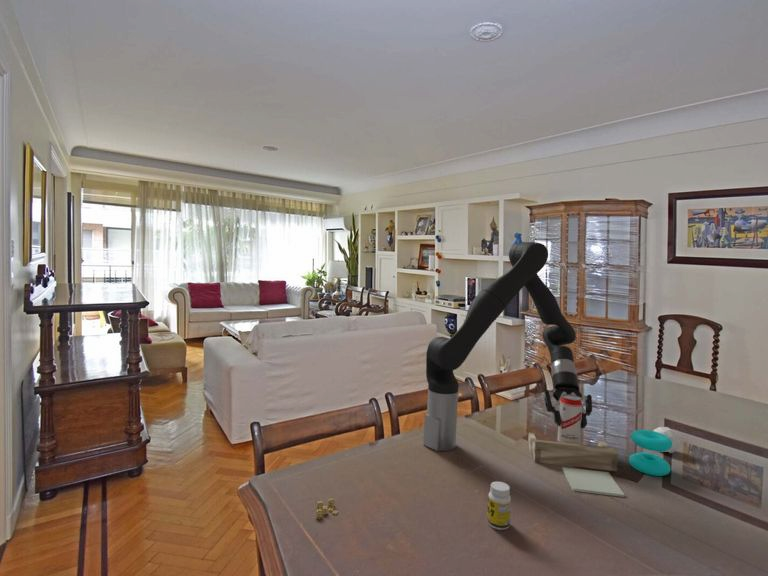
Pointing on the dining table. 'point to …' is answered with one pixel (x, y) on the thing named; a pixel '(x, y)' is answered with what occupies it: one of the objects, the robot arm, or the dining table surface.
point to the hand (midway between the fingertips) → (571, 425)
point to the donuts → (646, 460)
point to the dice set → (325, 508)
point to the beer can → (570, 419)
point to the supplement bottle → (499, 506)
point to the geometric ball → (671, 435)
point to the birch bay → (574, 454)
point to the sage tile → (592, 482)
